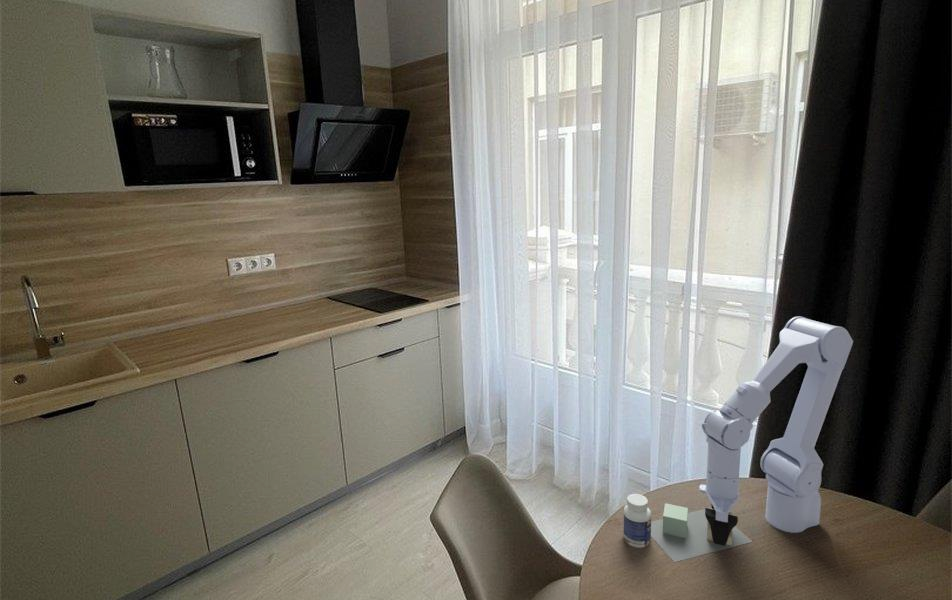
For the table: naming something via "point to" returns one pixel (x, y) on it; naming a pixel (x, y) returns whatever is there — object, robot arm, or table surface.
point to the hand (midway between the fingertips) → (719, 531)
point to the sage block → (675, 520)
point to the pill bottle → (637, 521)
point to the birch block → (709, 533)
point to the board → (692, 538)
